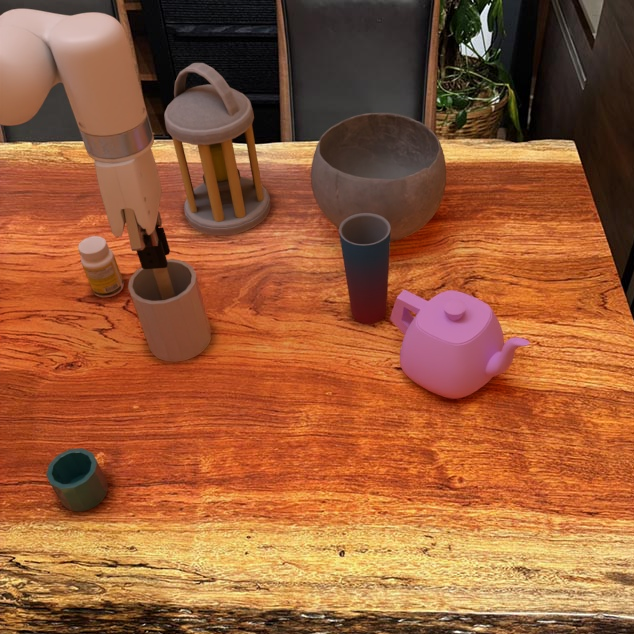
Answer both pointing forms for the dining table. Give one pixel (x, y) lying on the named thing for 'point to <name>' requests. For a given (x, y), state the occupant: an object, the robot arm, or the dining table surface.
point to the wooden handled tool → (163, 281)
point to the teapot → (451, 342)
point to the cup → (366, 264)
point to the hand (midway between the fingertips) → (156, 259)
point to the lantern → (216, 154)
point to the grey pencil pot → (171, 313)
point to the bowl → (380, 171)
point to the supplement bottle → (100, 267)
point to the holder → (77, 479)
